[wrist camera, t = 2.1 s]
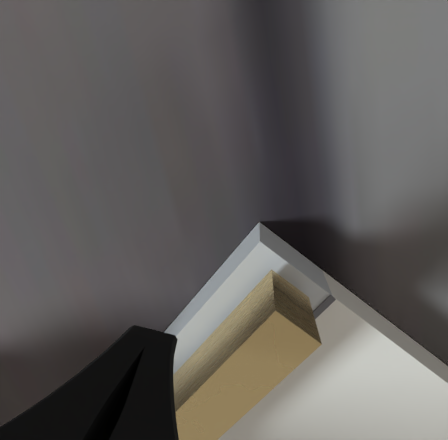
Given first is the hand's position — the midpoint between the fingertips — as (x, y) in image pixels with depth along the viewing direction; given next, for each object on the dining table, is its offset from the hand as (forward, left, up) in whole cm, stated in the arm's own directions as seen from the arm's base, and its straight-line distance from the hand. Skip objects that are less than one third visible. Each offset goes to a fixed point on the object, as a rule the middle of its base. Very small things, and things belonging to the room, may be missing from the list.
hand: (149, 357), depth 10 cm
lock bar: (-3, -4, -5) cm, 7 cm away
